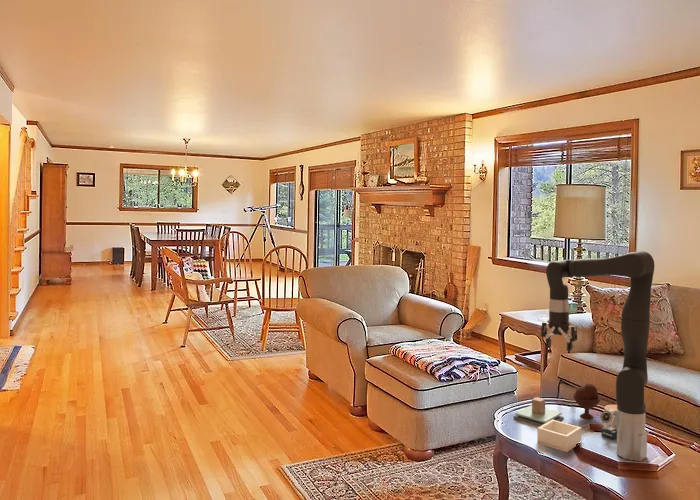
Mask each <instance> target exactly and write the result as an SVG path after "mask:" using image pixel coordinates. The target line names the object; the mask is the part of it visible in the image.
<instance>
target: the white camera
mask: <svg viewBox="0 0 700 500" xmlns="http://www.w3.org/2000/svg"><path fill="white" fill-rule="evenodd" d="M617 407H618V405H617V404H607V405H605V406H604V407H603V412H604V411H606V410H608V409H613V410H616V411H617ZM614 417H615V413H614V414H613V419H614ZM612 423H613V421H612V422H611V423H610V426H612ZM616 428H617V427H616Z"/></svg>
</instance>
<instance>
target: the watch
mask: <svg viewBox="0 0 700 500" xmlns="http://www.w3.org/2000/svg"><path fill="white" fill-rule="evenodd" d="M614 413H615V417H614V419H613V414H614ZM600 421H601V422H600V423H601V424H602V426H603V427H601V429H600V432H601V437H604V438H607V439H609V440H611V441H617V429H616V427H617V411H616V410H613V409H608V410H606V411H604V410H603V412H602V413H601V414H600ZM612 421H613V423H612V426H611V427H610V426H609V425H610V423H611V422H612Z"/></svg>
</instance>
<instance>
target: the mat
mask: <svg viewBox="0 0 700 500" xmlns="http://www.w3.org/2000/svg"><path fill="white" fill-rule="evenodd" d="M513 418H514V420H517V421H519V422H520V421H521V422H524V423H528V424H531V425H535V426H538V427H540V426H542V425H544V424H545V423H543V422H540V421H536V420H533V419H529V418H525V417H522V416H518V415H514V416H513ZM564 419H565V418H564V416H562V415H559V416H558V417H556V418H554V419H552V420H556V421H560V422H563V421H564Z"/></svg>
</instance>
